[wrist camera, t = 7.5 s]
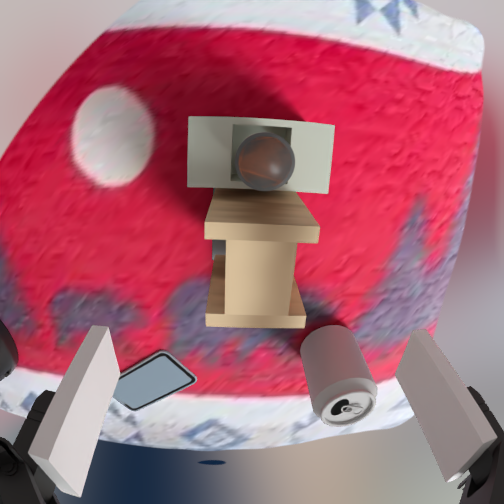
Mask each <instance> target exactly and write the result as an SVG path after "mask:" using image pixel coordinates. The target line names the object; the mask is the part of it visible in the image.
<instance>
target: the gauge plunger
mask: <svg viewBox="0 0 504 504" xmlns="http://www.w3.org/2000/svg"><path fill="white" fill-rule="evenodd" d="M235 168H236V171H237V174H238V176H239V178H240V179H241V180H242V182H243V183H245V184H246V185H247V186H248V187H250V188H252V189H255V190H258V191H272V190H275V189H278V188H280V187H281V186H283V185H284V184H285V183H286V182H287V181H288V180H289V179H290V177H291V176H292V174H293V171H294V168H295V156H294V152H293V150H292V148H291V146H290V145H289V143H288V142H287V141H286V140H285V139H283V138H282V137H280V136H278V135H276V134H274V133H270V132H259V133H255V134H252V135H250V136H248V137H247V138H246V139H245V140H244V141H243V142H242V143H241V144H240V145H239V147H238V149H237V152H236V156H235Z"/></svg>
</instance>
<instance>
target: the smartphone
mask: <svg viewBox="0 0 504 504" xmlns="http://www.w3.org/2000/svg"><path fill="white" fill-rule="evenodd" d="M196 382H197V377H196V375H195V374H193V373H192V372H191V371H190V370H188V368H186V367H185V366H184V365H183V364H181V362H180V361H178V360H177V359H176V358H175V357H173V356H172V355H171V353H169V352H168V351H165V350H160V351H158V352H157V353H155V354H153V355H151V356H150V357H148V358H146V359H145V360H143V361H141V362H140V363H138V364H136V365H134V366H133V367H131V368H129V369H127V370H126V371H124V372H122V373H120V377H119V379H118V382H117V385H116V388H115V390H114V393H113V396H112V397H113V398H115V399H116V400H117V401H118V402H120V403H121V404H122V405H124V406H125V407H126V408H128V409H129V410H131V411H138V410H140V409H142V408H145V407H147V406H149V405H151V404H153V403H155V402H158V401H160V400H162V399H164V398H166V397H168V396H170V395H172V394H174V393H176V392H178V391H180V390H182V389H184V388H186V387H188V386H190V385H192V384H194V383H196Z"/></svg>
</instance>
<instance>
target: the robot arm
mask: <svg viewBox="0 0 504 504" xmlns="http://www.w3.org/2000/svg"><path fill="white" fill-rule="evenodd" d="M17 363H18V352H17V348H16V345H15V343H14V341H13V339H12V337H11V335H10V333H9V332H8V330H7V329H6V327H5V326H4V325H3V323H2V322H1V321H0V381H1V380H2V379H4V378H5V377H7V376H9V375H10V374H11V373H12V371H13V370H14V368H15V367H16V365H17ZM395 376H396V378H397V380H398V382H399V384H400V385H401V387H402V389H403V391H404V393H405V395H406V397H407V399H408V401H409V403H410V405H411V408H412V410H413V412H414V414H415V416H416V418H417V420H418V422H419V424H420V426H421V428H422V430H423V433H424V435H425V437H426V439H427V441H428V443H429V445H430V447H431V450H432V452H433V454H434V456H435V459H436V461H437V463H438V465H439V468H440V470H441V472H442V475H443V477H444V479H445V482H446V483H447V482H449V481H452V480H454V479H457V478H459V477H461V476H462V475H463V474H464V473H465V472H466V471H467V470H469V472H470V475H469V476H468V477H467V478H466V479H465V480H464V481H462V483H460V485H459V486H458V489H460V488H461V487H462V486H463V485H464V484H465V483H466V484H465V487H464V488H463V494H462V497H461V500H460V503H459V504H504V431H503V430H502V428H501V426H500V425H499V423H498V422H497V420H496V418H495V417H494V415H493V414H492V412H491V411H489V407H488V406H487V404H485V401H484V400H483V398H482V397H481V395H480V394H479V393H478V392H477V391H476V390H475V389H473V388H472V387H471V386H470V387H466V386H465V384H464V383H463V382H462V380H461V379H460V377H459V375H458V374H457V372H456V371H455V370H454V368H453V367H452V365H451V364H450V362H449V361H448V359H447V358H446V357H445V355H444V354H443V353H442V351H441V350H440V348H439V347H438V346H437V344H436V343H435V341H434V340H433V338H432V337H431V336H430V334H429V333H428V332H427V330H426V329H424V330H413V331H412V334H411V336H410V339H409V341H408V344H407V346H406V349H405V351H404V354H403V356H402V359H401V361H400V363H399V366H398V368H397V370H396V373H395ZM119 377H120V370H119V367H118V363H117V359H116V356H115V352H114V348H113V344H112V340H111V336H110V331H109V327H104V326H95V325H92V327H91V328H90V330H89V332H88V334H87V335H86V337H85V339H84V341H83V343H82V344H81V346H80V348H79V350H78V351H77V353H76V355H75V357H74V359H73V361H72V362H71V364H70V366H69V368H68V370H67V372H66V374H65V376H64V378H63V379H62V381H61V383H60V385H59V387H58V389H57V391H56V392H52V391H48V390H45V391H44V392H43V393H42V394H41V395H39V396H38V397H37V398H36V400H35V402H34V404H33V406H32V408H31V411H30V412H29V414H28V416H27V419H26V420H25V421H24V424H23V426H22V428H21V430H20V432H19V434H18V436H17V438H16V441H15V442H14V444H13V446H12V445H11V443H10V442H9V441H7V440H6V439H5V438H2V437H0V504H60V503H59V501H58V499H57V496H56V495H55V493H54V489H55V486H57V487H58V488H59V489H60V490H61V491H62V492H65V493H68V494H71V495H74V496H78V497H81V494H82V491H83V487H84V484H85V480H86V477H87V473H88V469H89V466H90V463H91V459H92V456H93V453H94V449H95V447H96V444H97V440H98V437H99V434H100V431H101V428H102V425H103V422H104V419H105V416H106V413H107V410H108V407H109V404H110V402H111V399H112V396H113V393H114V390H115V388H116V385H117V382H118V379H119Z"/></svg>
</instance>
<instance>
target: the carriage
mask: <svg viewBox="0 0 504 504" xmlns="http://www.w3.org/2000/svg"><path fill="white" fill-rule="evenodd" d="M319 231H320V226H319V225H318V223H317V222H316V220H315V219H314V217H313V216H312V214H311V213H310V212H309V210H308V209H307V207H306V206H305V204H304V203H303V202H302V200H301V199H300V197H299V196H298V194H297V193H296V191H279V190H272V191H258V190H255V189H237V188H213V198H212V201H211V204H210V207H209V210H208V213H207V216H206V219H205V239H212V260H214V263H213V269H212V276H211V282H210V288H209V295H208V301H207V308H206V326H213V327H242V328H304V327H305V321H306V313H305V309H304V306H303V303H302V300H301V297H300V293H299V290H298V287H297V284H296V281H295V278H294V267H295V258H296V250H297V242H298V243H318V238H319Z"/></svg>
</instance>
